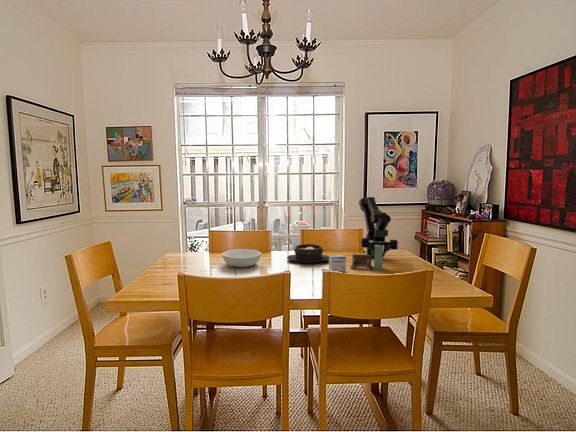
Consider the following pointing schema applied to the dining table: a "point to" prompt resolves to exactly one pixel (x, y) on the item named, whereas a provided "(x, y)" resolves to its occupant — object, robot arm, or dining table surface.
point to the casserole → (308, 254)
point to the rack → (361, 262)
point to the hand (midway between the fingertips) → (378, 257)
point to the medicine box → (337, 263)
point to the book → (378, 257)
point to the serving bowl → (241, 257)
